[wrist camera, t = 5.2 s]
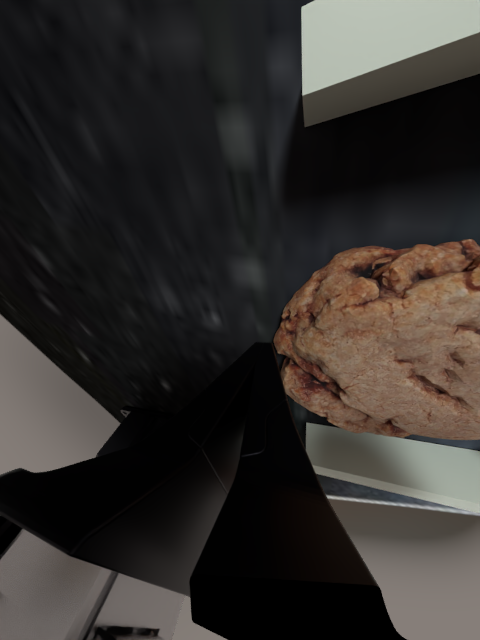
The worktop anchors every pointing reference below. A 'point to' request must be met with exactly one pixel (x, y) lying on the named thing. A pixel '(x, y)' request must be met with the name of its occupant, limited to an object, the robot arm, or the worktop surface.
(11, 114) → the worktop surface
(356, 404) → the cookie
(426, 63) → the box
